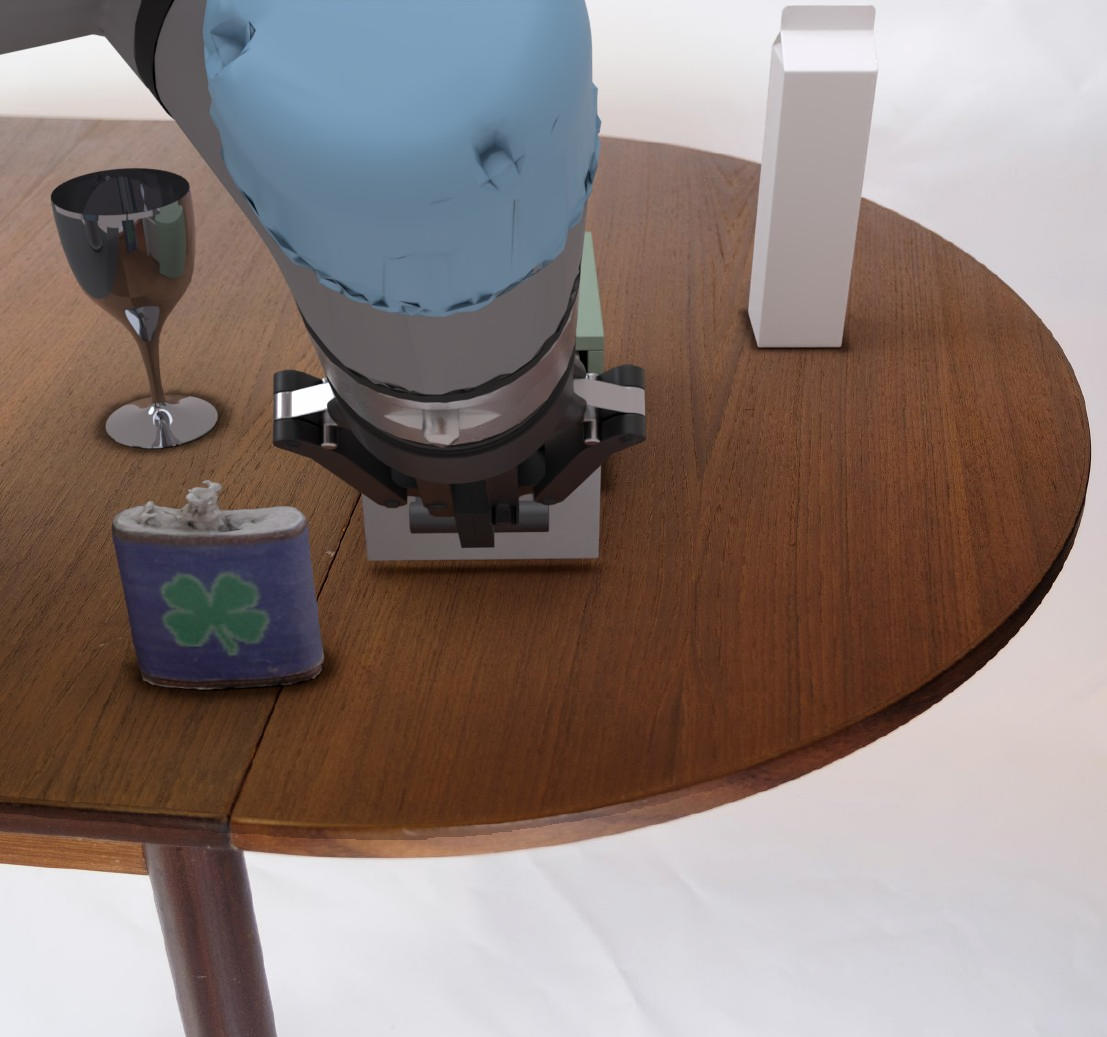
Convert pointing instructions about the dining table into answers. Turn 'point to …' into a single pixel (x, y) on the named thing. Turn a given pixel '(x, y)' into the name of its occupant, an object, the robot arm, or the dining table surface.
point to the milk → (812, 173)
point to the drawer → (535, 537)
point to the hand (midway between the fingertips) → (477, 518)
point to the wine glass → (136, 281)
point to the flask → (219, 593)
